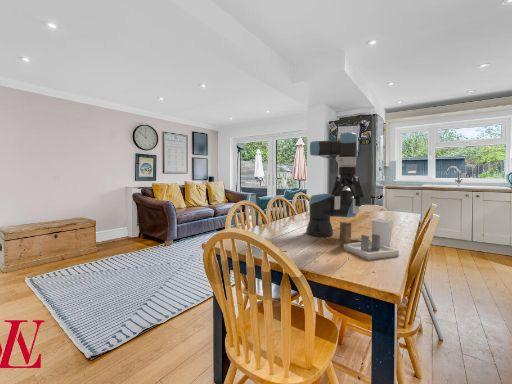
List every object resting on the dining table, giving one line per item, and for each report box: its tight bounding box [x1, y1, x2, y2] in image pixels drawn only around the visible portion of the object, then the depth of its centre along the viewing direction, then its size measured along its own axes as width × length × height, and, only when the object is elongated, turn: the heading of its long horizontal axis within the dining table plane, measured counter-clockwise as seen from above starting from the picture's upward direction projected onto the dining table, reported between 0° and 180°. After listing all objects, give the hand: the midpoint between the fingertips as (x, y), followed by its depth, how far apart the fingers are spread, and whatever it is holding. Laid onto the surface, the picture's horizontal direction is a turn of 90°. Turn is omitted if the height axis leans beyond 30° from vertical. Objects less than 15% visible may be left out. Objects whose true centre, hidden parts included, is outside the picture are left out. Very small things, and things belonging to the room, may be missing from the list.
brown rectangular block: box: [338, 220, 352, 248], centre depth 126 cm, size 5×2×12 cm, turn 19°
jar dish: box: [343, 233, 400, 261], centre depth 117 cm, size 16×16×8 cm
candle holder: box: [370, 218, 394, 247], centre depth 132 cm, size 10×10×12 cm
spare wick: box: [351, 236, 371, 243], centre depth 133 cm, size 12×5×2 cm, turn 53°
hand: (346, 211), depth 125 cm, fingers open, 13 cm apart
